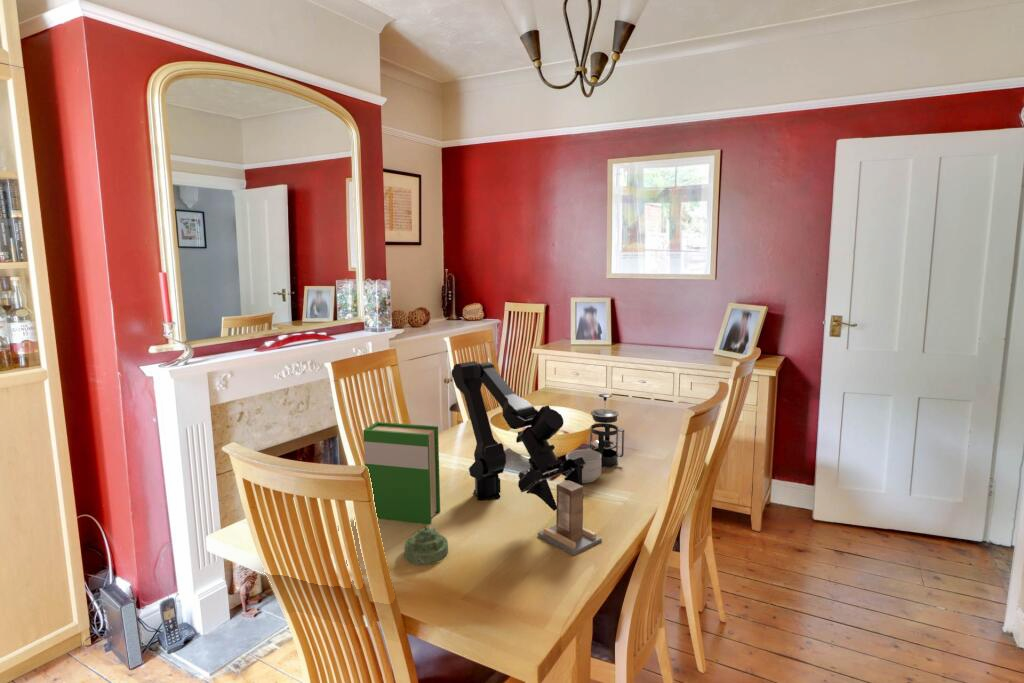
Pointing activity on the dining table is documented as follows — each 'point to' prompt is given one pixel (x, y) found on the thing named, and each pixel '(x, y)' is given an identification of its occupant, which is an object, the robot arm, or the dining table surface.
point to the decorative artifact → (426, 547)
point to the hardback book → (403, 470)
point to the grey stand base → (567, 544)
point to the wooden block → (569, 510)
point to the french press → (606, 435)
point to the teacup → (588, 463)
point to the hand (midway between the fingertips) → (569, 504)
